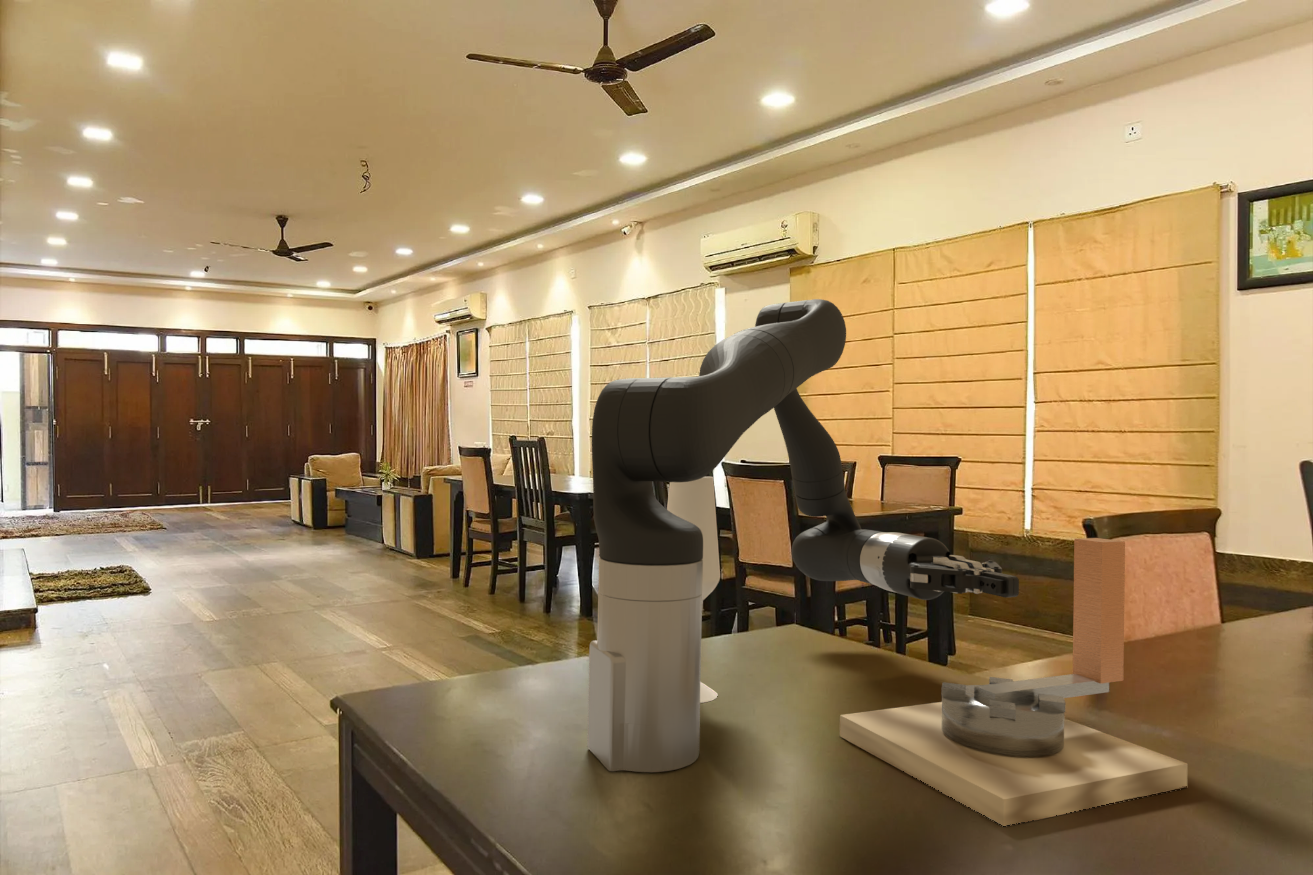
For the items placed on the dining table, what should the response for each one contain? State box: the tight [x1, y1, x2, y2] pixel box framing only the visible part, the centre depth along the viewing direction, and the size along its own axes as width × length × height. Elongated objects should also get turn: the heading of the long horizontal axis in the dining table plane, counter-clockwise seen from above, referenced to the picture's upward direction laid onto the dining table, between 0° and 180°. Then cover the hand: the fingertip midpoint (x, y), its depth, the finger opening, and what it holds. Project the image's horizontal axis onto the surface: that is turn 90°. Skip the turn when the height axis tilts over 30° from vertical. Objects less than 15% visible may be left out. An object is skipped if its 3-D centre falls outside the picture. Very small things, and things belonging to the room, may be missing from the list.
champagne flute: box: [666, 475, 721, 704], centre depth 91 cm, size 7×7×24 cm
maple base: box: [839, 701, 1189, 827], centre depth 73 cm, size 20×20×2 cm
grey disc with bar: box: [940, 537, 1126, 756], centre depth 74 cm, size 18×10×17 cm, turn 113°
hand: (1013, 587), depth 87 cm, fingers closed
